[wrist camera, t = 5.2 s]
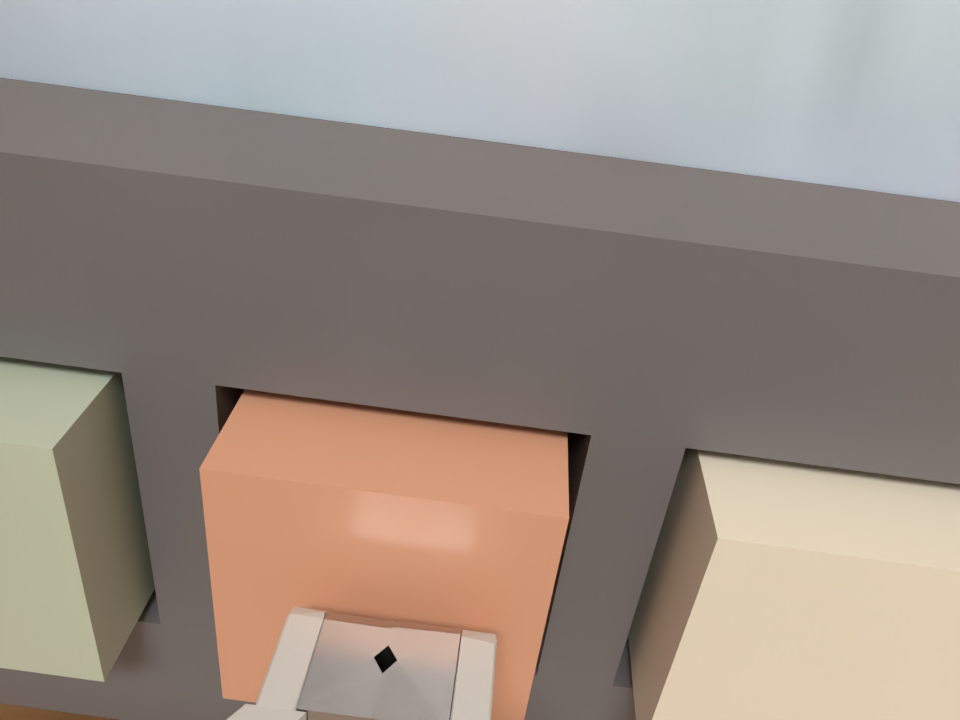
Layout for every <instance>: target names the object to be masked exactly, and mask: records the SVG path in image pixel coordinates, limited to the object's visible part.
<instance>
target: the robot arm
mask: <svg viewBox="0 0 960 720" xmlns="http://www.w3.org/2000/svg"><path fill="white" fill-rule="evenodd" d="M460 636H461V637H460ZM496 648H497V638H496V634H491V633H484V632H476V631H469V630H462V632H461V629H460V628H452V627H443V626H435V625H427V624H419V623H411V622H402V621H395V622H392V621H386V620H380V619H374V618H368V617H361V616H355V615H349V614H343V613H337V612H331V611H324V610H317V609H310V608H303V607H297V606H294V607H293V608H292V610H291V611H290V613H289V614H288V616H287V618H286V621H285V624H284V627H283V629H282V632H281V635H280V638H279V641H278V643H277V646H276V649H275V652H274V654H273V657H272V660H271V663H270V665H269V668H268V671H267V674H266V677H265V679H264V682H263V685H262V688H261V690H260V693H259V696H258V699H257V702H256V704H255V705H254V704H244V705H243V706H242V707H240V708H239V709H238V710H237V711H236V712H234V713H233V714H232V715H231V716H230V717H228V718H227V719H226V720H491V710H492V698H493V685H494V673H495V660H496ZM457 660H458V661H457ZM456 668H457V669H456Z"/></svg>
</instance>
